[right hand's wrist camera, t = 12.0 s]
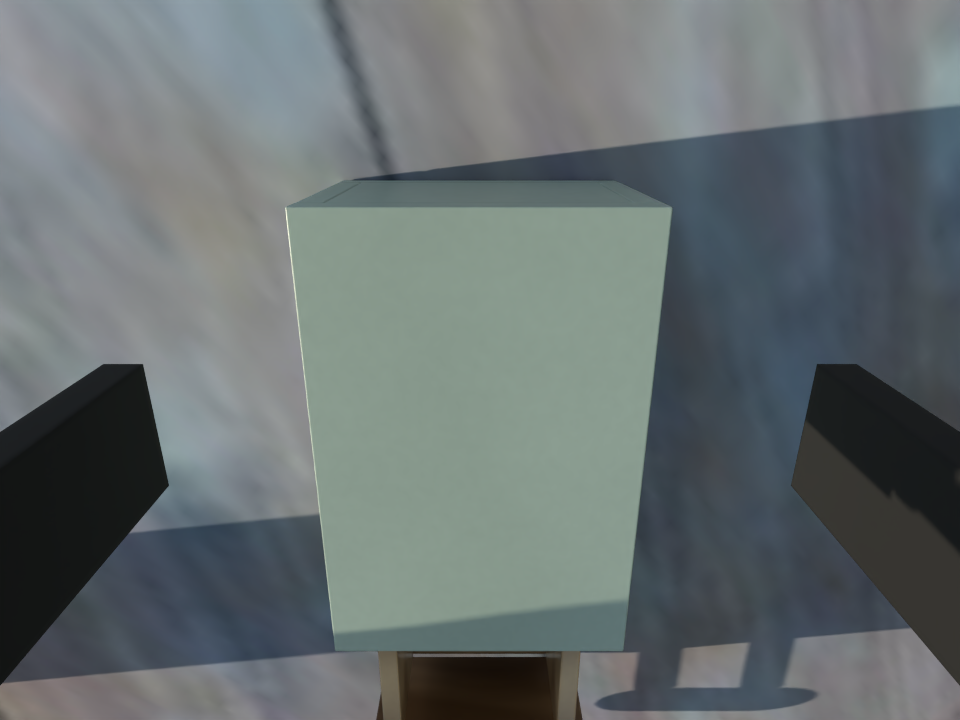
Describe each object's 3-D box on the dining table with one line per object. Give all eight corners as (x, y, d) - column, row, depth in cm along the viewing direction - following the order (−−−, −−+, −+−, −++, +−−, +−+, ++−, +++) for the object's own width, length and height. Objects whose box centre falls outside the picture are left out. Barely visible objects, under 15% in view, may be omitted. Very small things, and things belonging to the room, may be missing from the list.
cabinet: (589, 525, 31) (623, 651, 24) (369, 524, 31) (334, 651, 24) (616, 180, 25) (673, 206, 18) (342, 180, 25) (284, 206, 18)
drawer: (565, 744, 36) (581, 862, 30) (393, 744, 36) (377, 862, 30) (589, 415, 28) (617, 490, 22) (369, 415, 28) (341, 490, 22)
